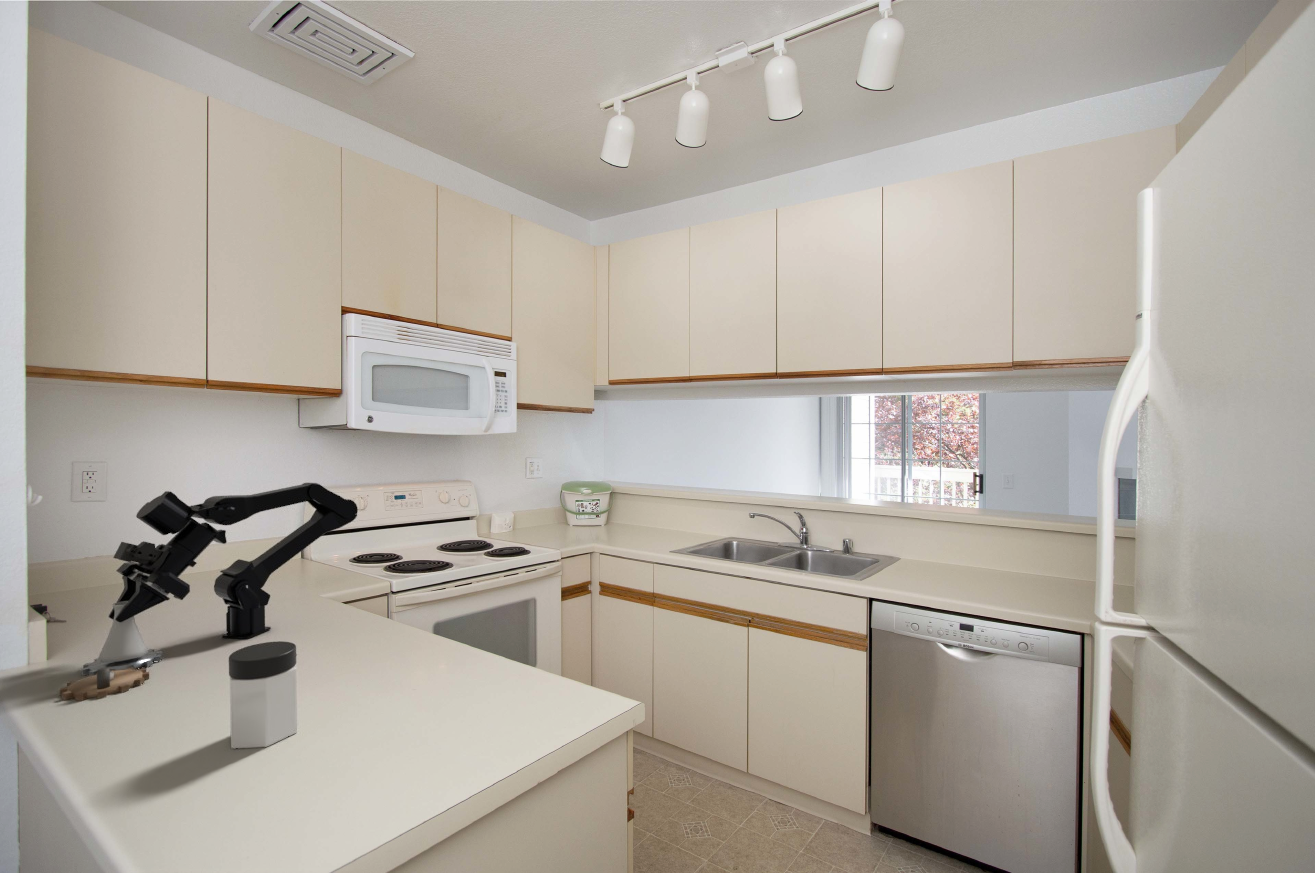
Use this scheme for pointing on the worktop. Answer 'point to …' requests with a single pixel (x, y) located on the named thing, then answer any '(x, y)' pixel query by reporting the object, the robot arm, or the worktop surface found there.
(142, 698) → the worktop surface
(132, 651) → the flask
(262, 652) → the jar
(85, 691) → the drive gear
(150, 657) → the gear
